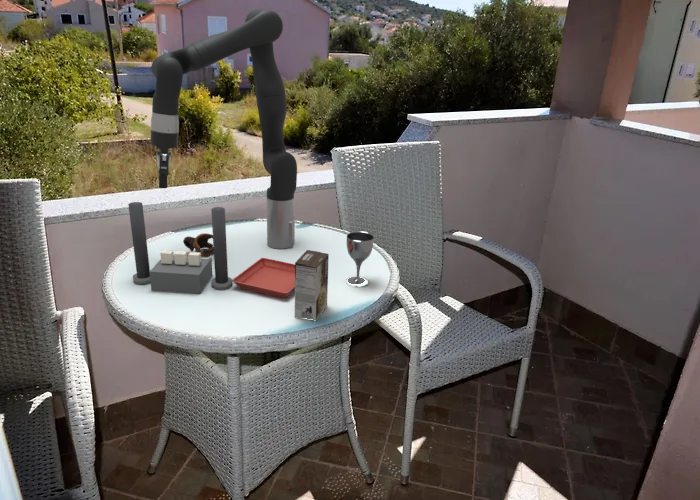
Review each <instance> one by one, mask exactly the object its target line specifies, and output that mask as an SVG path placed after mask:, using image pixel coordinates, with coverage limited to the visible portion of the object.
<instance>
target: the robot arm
mask: <svg viewBox="0 0 700 500" xmlns="http://www.w3.org/2000/svg"><path fill="white" fill-rule="evenodd" d="M283 29H284V23H283V21H282V18H281V16H280V15H279V14H278V13H277V12H276V11H274V10H272V9H270V8H269V9H268V8H262V9H261V8H258V9H257V8H256V9H253V10H251V11H250V12H248V14H247V15H246V16H245V20H244V23H243V24H241V25H239V26H237V27H234V28H232V29H229V30H225V31H223V32H222V31H221V32H219V33H216V34H212V35H209V36H207V37H204V38H201V39H199V40H196V41H195V42H192V43H190V44H188V45H186V46H184V47H181V48H178V49H175V50H172V51H169V52H166V53H164V54H161V55H159V56H157V57H156V58H155V59H154V60H152V63H151V67H150V68H151V69H150V70H151V73H152V74H153V76H154V78H156V79H155V80H156V83H155V92H154V93H153V96H152V103H151V104H152V107H151V108H152V112H151V119H150V141H149V142H150V145H151V146H153V147H156V148H158V150H156V163H157V164H156V167H157V169H158V188H159V189H167V188H168V176H169V175H170V172H169V170H170V168H171V160H172V154H171V152H170V151H169V149H175V148H178V147H179V128H180V127H179V125H180V121H179V110H180V109H179V108H180V101H179V100H180V99H179V98H180V94H181V90H182V84H183V75H185V74H187V73H190V72H197V71H200V70H202V69H205V68H207V67H210V66H212V65H214V64H215V63H218V62H220V61H222V60H224V59H226V58H228V57H230V56H232V55H234V54H237V53H239V52H241V51H244V50H245V51H246V50H248V49H249V52H250V56H251V62H252V63H251V64H252V71H253V72H252V73H253V81H254V89H255V90H254V91H255V99H256V101H255V102H256V106H257V111H258V112H257V113H258V118H259V120H258V121H259V125H260V131H261V140H262V143H261V144H262V145H261V146H262V164H263V167H264V170H265V171H266V172H267V173H268V174H269V175H270V186H269V187H268V188H266V234H267V236H266V244H267V246H268V247H270V248H272V249H277V250H278V249H283V250H285V249H292V248H293V247H294V244H295V243H296V242H295V241H296V240H295V239H296V238H295V237H296V236H295V235H296V225H295V222H296V217H295V192H296V190H297V183H298V181H297V180H298V177H297V176H298V163H297V159H296V158H295V156H294V155H293V154H291V153H289V152H288V151H287V150H286V147H285V141H284V140H285V139H284V125H285V120H286V116H287V110H288V109H287V98H286V90H285V89H286V88H285V84H284V81H283V79H282V76H281V73H280V71H279V67H278V66H277V63H276V60H275V53H274V44H273V43H274V42H276V41H278V39H279V38H280V37H281V36H282V32H283V31H284V30H283Z"/></svg>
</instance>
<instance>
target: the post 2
mask: <svg viewBox="0 0 700 500" xmlns="http://www.w3.org/2000/svg"><path fill="white" fill-rule="evenodd" d="M210 211H211V224H212V225H211V227H212V235H213V239H212V244H213V247H214V255H213V259H214V260H213V262H214V263H213V264H214V278H211V279H210V282H211V284H210V285H211V288H212V289H213V290H217V291H225V290H228V289H231V288H232V287H233V283H234V282H233V281H232V280H233V278H232V277H229V268H228V253H227V252H228V251H227V248H228V247H227V246H228V245H227V229H226V228H227V227H226V226H227V225H226V208H225V207H223V206H221V207H220V206H216V207H212V208H211V210H210Z"/></svg>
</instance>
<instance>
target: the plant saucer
mask: <svg viewBox="0 0 700 500" xmlns="http://www.w3.org/2000/svg"><path fill="white" fill-rule="evenodd" d="M232 283H234V285H236V286H237V287H239V288H240V289H244V290H248V291H252V292H256V293H257V292H258V293H261V294H266V295H269V296H273V297H278V298H286V297H288V295H290V294H291V293H292V292H293V291H295V263H290V262H285V261H280V260H276V259H272V258H267V257H261V258H259V259H258V260H257V261H256V262H254V263H253V264H251V265H250V266H248V267H247V268H246V269H244V270H243V271H242V272H241V273H239V274H238V275H237V276H235V277H234V278H232Z"/></svg>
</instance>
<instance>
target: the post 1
mask: <svg viewBox="0 0 700 500" xmlns="http://www.w3.org/2000/svg"><path fill="white" fill-rule="evenodd" d="M128 213H129V214H128V215H129V221H130V222H129V223H130V227H131V229H130V230H131V238H132V244H133V254H134V261H135V269H136V273H135V274H133V275H132V281H133V284H135V285H138V286H146V285H151V283H150V274H149V271H150V270H151V269H150V260H149V251H148V243H147V242H148V241H147V233H146V232H147V231H146V224H145V215H144V205H143V202H139V201H133V202H130V203H128Z"/></svg>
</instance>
